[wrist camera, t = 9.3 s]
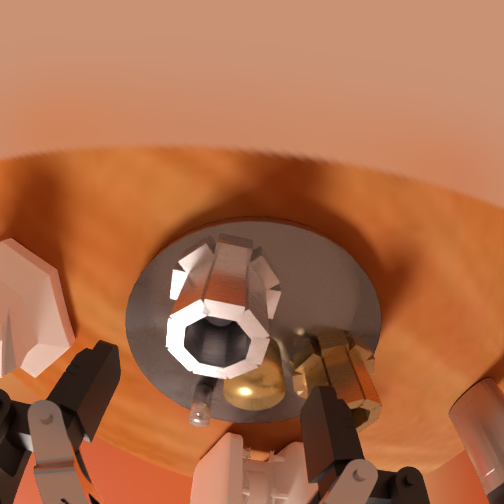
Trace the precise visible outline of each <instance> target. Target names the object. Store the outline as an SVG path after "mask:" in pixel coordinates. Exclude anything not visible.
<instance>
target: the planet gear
mask: <svg viewBox="0 0 504 504" xmlns="http://www.w3.org/2000/svg"><path fill="white" fill-rule="evenodd" d="M280 295H281V287H280V280H279V275H278V271H277V269H276V267H275V266H274V264H273V263H272V261H271V260H270V258H269V257H268V255H267V254H266V252H265V251H264V249H263V248H262V246H259V247H257V248H256V249H254V250H253V240H251V239H246V238H242V237H237V236H232V235H228V234H223V233H220V234H219V237H218V240H217V243H216V242H215V241H214V239H213V238H212V237H211V235H209V236H207V237H205V238H204V239H202V240H201V241H199V242H198V243H196V244H195V245H193V246H191V247H190V248H188V249H187V250H185V251H184V252H183V254H182V256H181V257H180V259H179V260H178V262H177V264H176V265H175V267H174V269H173V275H172V284H171V294H170V298H171V299H175V300H176V301H175V303H174V305H173V309H172V311H171V314H170V316H169V318H168V329H167V345H166V346H167V347H168V350H169V351H170V352H171V353H172V354H173V355H174V356H175V357H176V358H177V359H178V360H179V361H180V362H181V363H182V364H183V365H184V366H185V367H186V368H187V369H188V370H189V371H192V370H194V371H193V373H196V374H201V375H206V376H211V377H216V378H222V379H226V378H227V377H228V378H229V379H231V378H234V377H236V376H239V375H241V374H244V373H246V372H248V371H251V370H253V369H256V368H258V367H259V365H261V364H262V361H263V358H264V355H265V353H266V350H267V347H268V344H269V341H270V331H269V320H268V318H269V319H273V316H274V313H275V310H276V307H277V304H278V301H279V298H280ZM207 315H208V316H213V317H218V318H223V319H228V320H233V321H232V322H231V323H229V324H227V325H224V326H217V325H214V324H212V323H210V322H209V321H208V320H207V319H206V317H205V316H207Z"/></svg>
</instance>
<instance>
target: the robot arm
mask: <svg viewBox="0 0 504 504" xmlns="http://www.w3.org/2000/svg"><path fill="white" fill-rule="evenodd" d="M120 375H121V369H120V360H119V351H118V346H117V345H114V344H111V343H108V342H105V341H102V340H99V341H98V342H97V344H96V345H95V347H94V348H93V350H91V349H88V348H86V349H84V350H82V351H81V352H79V353H78V354H77V355H76V356H75V357H74V359H73V360H72V362H71V364H70V365H69V366H68V367H67V369H66V372H64V373H63V375H62V376H61V378H60V379H59V381H58V382H57V384H56V385H55V387H54V388H53V390H52V392H51V393H50V395H49V396H48V398H47V399H46V400H40V401H36V402H34V403H33V404H25V403H21V402H17V401H13V400H11V399H10V397H9V395H8V394H7V393H6V392H5V391H3V390H2V389H0V504H13V502H14V498H15V495H16V492H17V489H18V487H19V483H20V481H21V478H22V476H23V473H24V470H25V467H26V465H27V463H28V460H29V458H30V455H31V453H32V451H33V452H34V454H35V458H36V466H34V475H35V479H36V483H37V486H38V489H39V492H40V496H41V499H42V501H43V504H104V502H103V501H102V499H101V497H100V495H99V493H98V491H97V490H96V488H95V486H94V484H93V482H92V479H91V477H90V474H89V471H88V469H87V466H86V463H85V461H84V458H83V455H82V452H81V449H80V445H81V442H82V440H86V441H88V442H90V443H91V442H92V440H93V437H94V435H95V433H96V430H97V428H98V426H99V424H100V421H101V419H102V417H103V415H104V413H105V410H106V408H107V406H108V404H109V402H110V400H111V398H112V396H113V393H114V391H115V389H116V387H117V385H118V383H119V380H120ZM449 417H450V419H451V421H452V423H453V425H454V427H455V429H456V431H457V433H458V435H459V437H460V439H461V441H462V443H463V445H464V447H465V449H466V451H467V453H468V455H469V457H470V459H471V461H472V463H473V465H474V468H475V470H476V472H477V474H478V477H479V479H480V481H481V483H482V486H483V488H484V491H485V493H486V495H487V494H488V495H487V498H488V500H489V503H490V504H504V394H503V392H502V391H501V389H500V388H499V387H498V385H497V384H496V383H495V381H494V380H493V379H492V378H486V379H483V380H482V381H480V382H478V383H477V384H476V385H474V386H473V387H472V388H470V389H469V390H468V391H467V392H466V393H465V394H464V395H463V396H462V397H461V398H460V399H459V400H458V401H457V402H456V403H455V404H454V406H453V407H452V409H451V410H450V412H449ZM300 422H301V430H302V437H303V445H304V453H305V460H306V468H307V477H308V483H318V489H317V490H316V491H315V493H314V494H313V496H312V497H311V498H310V500H309V501H308V502H307V503H306V504H430V502H429V498H428V494H427V490H426V487H425V483H424V480H423V476H422V474H421V473H420V471H419V470H417V469H416V468H414V467H404V468H402V469H400V470H399V471H398V472H389V471H382V470H377V469H376V467H375V466H374V465H373V464H372V463H371V462H369V461H367V460H365V458H364V455H363V452H362V448H361V445H360V441H359V437H358V434H357V430H356V428H355V424H354V420H353V417H352V413H351V410H350V408H349V406H348V405H347V404H346V402H345V401H344V400H343V399H338V398H337V395H336V391H335V388H334V387H331V386H314V388H313V389H312V391H311V393H310V395H309V396H308V398H307V400H306V401H305V403H304V405H303V407H302V409H301V413H300Z"/></svg>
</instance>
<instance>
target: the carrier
mask: <svg viewBox="0 0 504 504" xmlns="http://www.w3.org/2000/svg"><path fill="white" fill-rule="evenodd" d="M220 233H223V234H228V235H232V236H237V237H242V238H246V239H251V240H253V250H254V249H256V248H257V247H259V246H262V248H263V249H264V251H265V252H266V254H267V255H268V257H269V258H270V260H271V261H272V263H273V264H274V266H275V267H276V269H277V271H278V275H279V280H280V287H281V295H280V298H279V301H278V304H277V307H276V310H275V313H274V316H273V319H269V318H268V320H269V331H270V341H269V344H268V347H267V350H266V353H265V355H264V358H263V361H262V364H261V365H259V367H258V368H256V369H253V370H251V371H248V372H246V373H244V374H241V375H239V376H236V377H234V378H231V379H229V378H228V377H227V378H226V379H222V378H216V377H211V376H206V375H201V374H196V373H193V371H194V370H192V371H189V370H188V369H187V368H186V367H185V366H184V365H183V364H182V363H181V362H180V361H179V360H178V359H177V358H176V357H175V356H174V355H173V354H172V353H171V352H170V351H169V350H168V347H167V346H166V345H167V329H168V318H169V316H170V314H171V311H172V309H173V305H174V303H175V301H176V300H175V299H171V298H170V294H171V284H172V275H173V269H174V267H175V265H176V264H177V262H178V260H179V259H180V257H181V256H182V254H183V252H184V251H185V250H187V249H188V248H190V247H191V246H193V245H195V244H196V243H198V242H199V241H201V240H202V239H204V238H205V237H207V236H209V235H211V237H212V238H213V239H214V241H215V242H216V243H217V240H218V237H219V234H220ZM205 317H206V319H207V320H208V321H209V322H210V323H212V324H214V325H217V326H224V325H227V324H229V323H231V322H232V321H233V320H228V319H223V318H218V317H213V316H208V315H207V316H205ZM338 331H344V334H345V336H346V335H347V334H348V333H349V332H352V333H354V334H355V335H357V336H359V337H360V338H362V339H363V340H365V341H366V342H367V344H368V346H369V348H370V350H371V352H372V354H373V355H374V353H375V350H376V347H377V344H378V341H379V336H380V331H381V311H380V304H379V300H378V297H377V294H376V291H375V288H374V286H373V284H372V283H371V281H370V279H369V277H368V275H367V274H366V273H365V271H364V270H363V269H362V268H361V266H360V265H359V264H358V263H357V261H356V260H355V259H354V258H353V257H352V255H351V254H350V253H349V252H347V251H346V250H345V249H344V248H343V247H342V246H341V245H340V244H339V243H337V242H336V241H334V240H333V239H331V238H330V237H328V236H327V235H325V234H323V233H321V232H319V231H317V230H315V229H313V228H311V227H309V226H306V225H303V224H300V223H296V222H293V221H290V220H285V219H279V218H272V217H255V216H246V217H237V218H228V219H223V220H219V221H215V222H211V223H208V224H205V225H202V226H200V227H197V228H195V229H192V230H190V231H188V232H187V233H185V234H183V235H181V236H180V237H178V238H176V239H174V240H173V241H172V242H171V243H169V244H168V245H167V246H166V247H164V248H163V249H162V250H161V251H160V252H159V253H158V254H157V255H156V256H155V257H154V258H153V259H152V261H151V262H150V263H149V264H148V265H147V267H146V268H145V269H144V271H143V272H142V273H141V275H140V277H139V278H138V280H137V281H136V283H135V285H134V287H133V289H132V292H131V294H130V297H129V300H128V305H127V309H126V333H127V339H128V343H129V346H130V350H131V352H132V354H133V356H134V359H135V361H136V363H137V364H138V366H139V367H140V369H141V371H142V372H143V373H144V375H145V376H146V377H147V378H148V379H149V381H150V382H151V383H152V384H153V385H154V386H155V387H156V388H157V389H158V390H159V391H161V392H162V393H163V394H164V395H166V396H167V397H168V398H170V399H171V400H173V401H174V402H176V403H178V404H179V405H181V406H183V407H185V408H187V409H189V410H190V415H189V422H190V423H191V424H193V425H195V426H199V427H204V426H207V425H208V424H209V418H214V419H218V420H223V421H228V422H236V423H270V422H277V421H283V420H287V419H291V418H295V417H298V416H300V413H301V409H302V407H303V405H304V403H305V401H306V400H307V399H305V398H302V397H300V396H298V394H297V392H294V386H293V380H292V372H291V364H290V361H293V355H294V354H295V353H296V352H297V351H298V350H299V349H300V348H301V347H303V346H304V345H305V344H306V343H307V342H308V341H309V340H312V341H314V342H316V343H317V336H318V335H323V334H328V333H333V332H338Z"/></svg>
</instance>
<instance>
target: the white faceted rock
mask: <svg viewBox="0 0 504 504" xmlns="http://www.w3.org/2000/svg"><path fill="white" fill-rule="evenodd" d="M75 340H76V339H75V336H74V333H73V329H72V326H71V323H70V319H69V316H68V312H67V308H66V304H65V300H64V296H63V292H62V288H61V283H60V278H59V274H58V270H57V269H56V268H54V267H53V266H51V265H50V264H48V263H47V262H45V261H44V260H42V259H41V258H39V257H38V256H37V255H35V254H34V253H32V252H31V251H29V250H28V249H26V248H25V247H24V246H22V245H21V244H19V243H18V242H17V241H15V240H14V239H12V238H9V239H6V240H3V241H1V242H0V378H2V377H3V376H4V375H6V374H8V373H9V372H11V371H13V370H15V369H17V368H19V367H20V368H21V369H23V370H24V371H26V372H27V373H29V374H30V375H31V376H33V377H34V378H36V377H37V376H38V375H39V374H40V373H41V372H43V371H44V370H45V369H46V368H47V367H48V366H49V365H51V364H52V363H53V362H54V361H55V360H56V359H57V358H59V357H60V356H61V355H62V354H63V353H64V352H66V351H67V350H68V349H69V348H70V347H71V345H72V344H73V343H74V341H75Z"/></svg>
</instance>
